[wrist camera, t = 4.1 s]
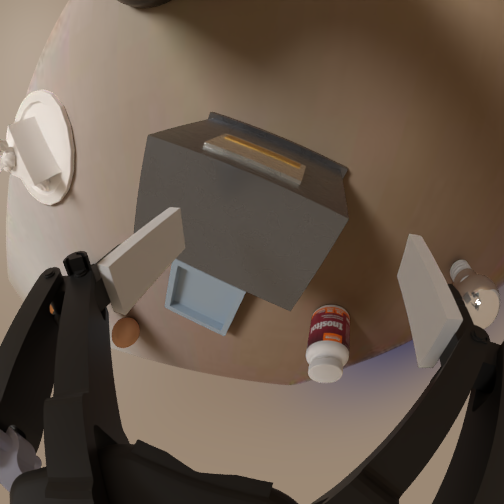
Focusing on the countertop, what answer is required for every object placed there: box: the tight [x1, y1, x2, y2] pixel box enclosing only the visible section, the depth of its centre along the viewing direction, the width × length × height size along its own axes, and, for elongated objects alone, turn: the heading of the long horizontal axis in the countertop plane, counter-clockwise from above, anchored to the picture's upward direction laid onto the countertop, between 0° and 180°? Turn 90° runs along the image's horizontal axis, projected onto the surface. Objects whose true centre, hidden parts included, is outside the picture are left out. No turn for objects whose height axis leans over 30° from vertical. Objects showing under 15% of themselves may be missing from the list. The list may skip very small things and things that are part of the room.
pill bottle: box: [306, 305, 350, 383], centre depth 37 cm, size 6×6×11 cm
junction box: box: [134, 112, 349, 311], centre depth 27 cm, size 17×11×14 cm, turn 70°
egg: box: [112, 317, 140, 348], centre depth 54 cm, size 6×6×8 cm
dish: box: [0, 89, 75, 205], centre depth 34 cm, size 25×25×11 cm
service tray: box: [165, 259, 246, 336], centre depth 44 cm, size 12×12×2 cm
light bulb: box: [450, 260, 500, 329], centre depth 26 cm, size 7×7×12 cm
